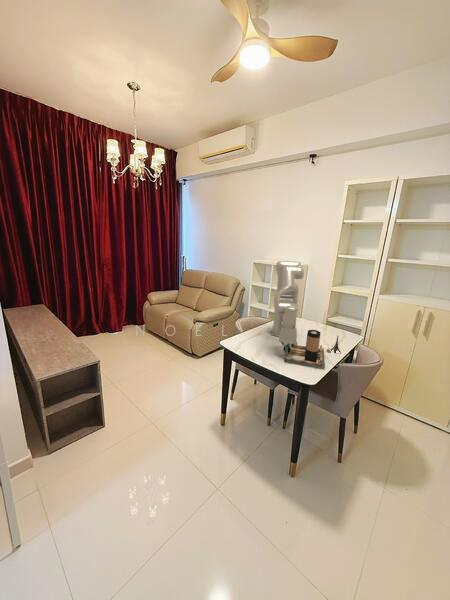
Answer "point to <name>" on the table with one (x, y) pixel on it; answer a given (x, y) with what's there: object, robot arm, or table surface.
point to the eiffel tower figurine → (334, 347)
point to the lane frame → (309, 364)
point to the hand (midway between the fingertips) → (286, 352)
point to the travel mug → (312, 345)
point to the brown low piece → (301, 356)
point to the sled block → (303, 348)
